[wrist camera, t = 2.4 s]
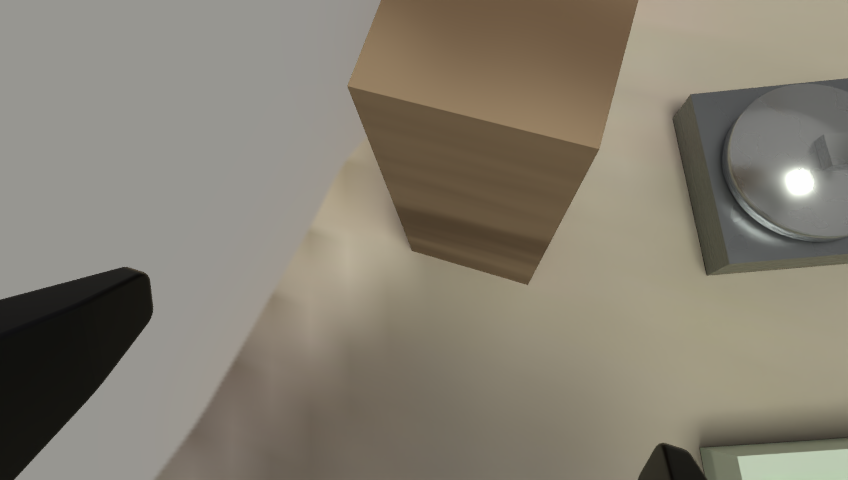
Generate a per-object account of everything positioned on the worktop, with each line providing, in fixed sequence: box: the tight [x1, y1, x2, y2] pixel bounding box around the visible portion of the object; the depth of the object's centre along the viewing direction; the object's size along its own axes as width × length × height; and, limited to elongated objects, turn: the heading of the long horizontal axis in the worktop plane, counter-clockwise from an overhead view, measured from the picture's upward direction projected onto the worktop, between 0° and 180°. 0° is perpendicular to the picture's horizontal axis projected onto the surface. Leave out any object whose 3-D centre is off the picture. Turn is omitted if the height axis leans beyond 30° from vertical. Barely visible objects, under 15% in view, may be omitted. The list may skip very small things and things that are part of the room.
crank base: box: [673, 78, 848, 275], centre depth 22 cm, size 7×7×2 cm
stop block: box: [348, 0, 638, 285], centre depth 17 cm, size 5×5×13 cm
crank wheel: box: [722, 84, 848, 242], centre depth 19 cm, size 6×6×4 cm
